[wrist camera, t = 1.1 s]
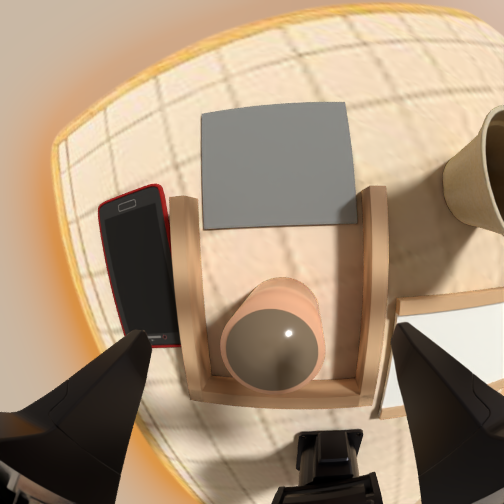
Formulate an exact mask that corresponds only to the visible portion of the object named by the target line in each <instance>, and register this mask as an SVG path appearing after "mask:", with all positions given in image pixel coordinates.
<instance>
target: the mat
mask: <svg viewBox="0 0 504 504" xmlns="http://www.w3.org/2000/svg"><path fill="white" fill-rule="evenodd" d="M202 188H203V217H204V229H215V228H234V227H256V226H281V225H311V224H354V223H357V205H356V190H355V177H354V166H353V157H352V148H351V140H350V132H349V125H348V118H347V112H346V106H345V102H306V103H286V104H272V105H261V106H252V107H244V108H236V109H229V110H222V111H216V112H210V113H204V114H202Z"/></svg>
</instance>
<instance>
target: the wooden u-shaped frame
mask: <svg viewBox="0 0 504 504" xmlns="http://www.w3.org/2000/svg"><path fill="white" fill-rule="evenodd" d="M361 195H362V212H363V244H364V269H363V301H362V318H361V331H360V342H359V352H358V361H357V369H356V377H355V378H351V379H333V380H311V381H310V382H309V383H308V384H306V385H305V386H303V387H302V388H300V389H298V390H295V391H292V392H289V393H284V394H265V393H260V392H257V391H254V390H252V389H249V388H247V387H246V386H244V385H242V384H241V383H240V382H238V381H237V380H236V379H235V378H233V377H222V376H212V374H211V366H210V357H209V349H208V339H207V330H206V319H205V308H204V296H203V284H202V270H201V254H200V236H199V213H198V199H196V198H192V197H188V196H176V197H169V206H170V232H171V250H172V264H173V276H174V288H175V298H176V307H177V316H178V324H179V332H180V339H181V347H182V353H183V360H184V366H185V372H186V378H187V384H188V390H189V395H190V400H194V401H201V402H207V403H215V404H223V405H232V406H242V407H254V408H271V409H332V408H349V407H361V406H371V405H372V403H373V399H374V394H375V389H376V383H377V378H378V372H379V366H380V360H381V353H382V345H383V337H384V328H385V318H386V306H387V291H388V265H389V233H388V207H387V192H386V186H369V187H367V188H365V189H364V190H362V191H361Z"/></svg>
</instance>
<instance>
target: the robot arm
mask: <svg viewBox="0 0 504 504" xmlns="http://www.w3.org/2000/svg"><path fill="white" fill-rule="evenodd" d="M391 348H392V353H393V359H394V364H395V370H396V376H397V381H398V385H399V389H400V392H401V396H402V400H403V404H404V408H405V412H406V416H407V420H408V424H409V429H410V433H411V438H412V443H413V448H414V453H415V459H416V465H417V471H418V478H419V485H420V493H421V502H422V504H504V396H503V395H502V394H500V393H499V392H497V391H496V390H494V389H493V388H492V387H490V386H489V385H487V384H486V383H485V382H484V381H482V380H481V379H480V378H479V377H477V376H476V375H475V374H473V373H472V372H471V371H470V370H469V369H468V368H466V367H465V366H464V365H463V364H461V363H460V362H459V361H458V360H456V359H455V358H454V357H453V356H451V355H450V354H449V353H447V352H446V351H445V350H444V349H442V348H441V347H440V346H439V345H437V344H436V343H435V342H433V341H432V340H431V339H430V338H428V337H427V336H426V335H424V334H423V333H422V332H420V331H419V330H418V329H416V328H415V327H414V326H412V325H411V324H410V323H408V322H401V323H397V324H396V326H395V329H394V332H393V335H392V338H391ZM151 353H152V346H151V343H150V341H149V339H148V336H147V334H146V332H145V331H144V330H138V329H135V330H133V331H131V332H130V333H128V334H127V335H126V336H124V337H123V338H122V339H120V340H119V341H118V342H116V343H115V344H114V345H112V346H111V347H110V348H108V349H107V350H106V351H104V352H103V353H102V354H100V355H99V356H98V357H97V358H95V359H94V360H93V361H91V362H90V363H89V364H87V365H86V366H85V367H84V368H82V369H81V370H79V371H78V372H77V373H75V374H74V375H73V376H71V377H70V378H69V380H66V381H65V382H63V383H62V384H61V385H59V386H58V387H57V388H55V389H54V390H52V391H51V392H49V393H48V394H46V395H45V396H44V397H42V398H40V399H39V400H37V401H35V402H34V403H32V404H31V405H29V406H27V407H26V408H24V409H22V410H20V411H17V412H11V413H6V412H0V504H115V501H116V496H117V491H118V486H119V481H120V477H121V472H122V468H123V464H124V460H125V455H126V451H127V447H128V444H129V439H130V436H131V432H132V429H133V425H134V421H135V418H136V414H137V411H138V407H139V404H140V401H141V397H142V394H143V391H144V387H145V383H146V378H147V373H148V368H149V363H150V358H151ZM358 433H359V434H358ZM302 436H305V437H302ZM362 437H363V431H362V430H361V429H357V430H344V431H326V432H302V433H300V434H299V441H298V453H297V463H296V469H297V470H299V471H300V475H299V485H298V486H295V487H279V488H278V491H277V493H276V494H275V496H274V499H273V501H272V504H383V501H382V496H381V492H380V488H379V484H378V480H377V477H376V473H375V472H372V473H369V474H367V475H363V476H359V471H358V464H357V455H358V451H359V448H360V444H361V441H362Z"/></svg>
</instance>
